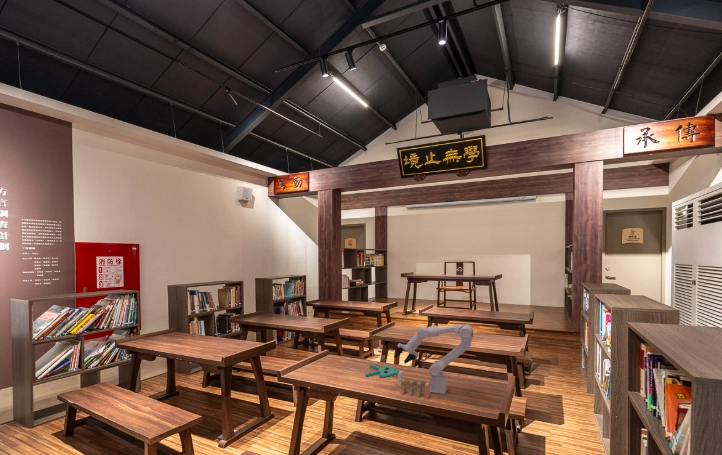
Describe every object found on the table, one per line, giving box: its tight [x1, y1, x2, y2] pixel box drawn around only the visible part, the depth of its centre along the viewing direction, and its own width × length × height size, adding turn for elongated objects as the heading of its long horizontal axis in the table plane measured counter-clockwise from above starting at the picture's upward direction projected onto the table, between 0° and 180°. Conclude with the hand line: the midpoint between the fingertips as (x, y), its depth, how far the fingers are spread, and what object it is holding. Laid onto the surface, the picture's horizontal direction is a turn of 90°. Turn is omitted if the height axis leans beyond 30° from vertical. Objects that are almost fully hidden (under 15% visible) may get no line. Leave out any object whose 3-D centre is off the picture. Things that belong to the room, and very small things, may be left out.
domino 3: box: [416, 380, 423, 398], centre depth 200 cm, size 2×5×7 cm, turn 158°
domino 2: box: [408, 379, 415, 397], centre depth 201 cm, size 2×5×7 cm, turn 158°
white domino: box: [397, 370, 404, 387], centre depth 216 cm, size 2×5×7 cm, turn 158°
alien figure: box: [365, 364, 400, 379], centre depth 236 cm, size 20×2×20 cm
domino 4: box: [424, 381, 431, 400], centre depth 198 cm, size 2×5×7 cm, turn 158°
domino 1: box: [400, 378, 407, 396], centre depth 203 cm, size 2×5×7 cm, turn 158°
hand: (399, 359), depth 217 cm, fingers open, 7 cm apart
